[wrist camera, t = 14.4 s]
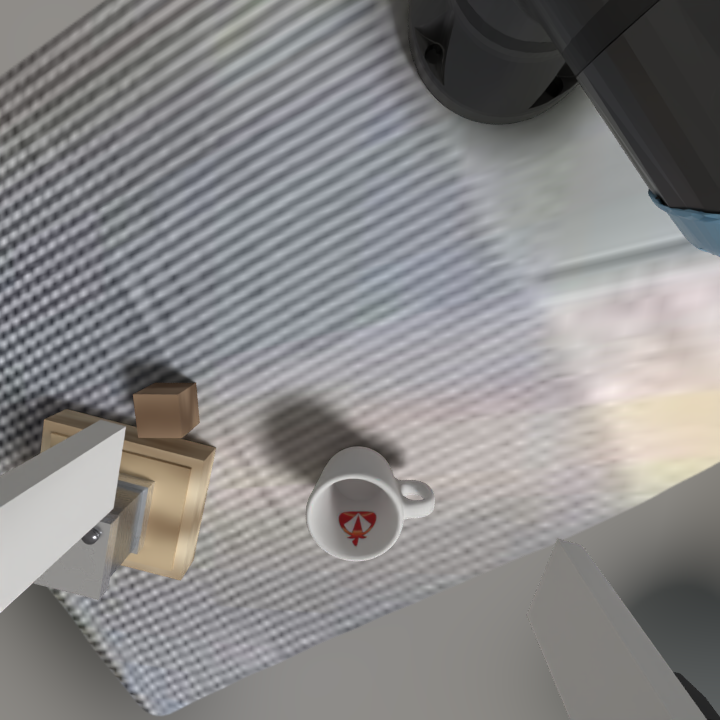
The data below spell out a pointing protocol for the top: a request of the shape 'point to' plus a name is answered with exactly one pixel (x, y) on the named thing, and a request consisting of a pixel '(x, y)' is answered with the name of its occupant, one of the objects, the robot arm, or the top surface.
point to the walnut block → (166, 410)
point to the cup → (362, 505)
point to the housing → (105, 542)
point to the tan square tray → (155, 489)
